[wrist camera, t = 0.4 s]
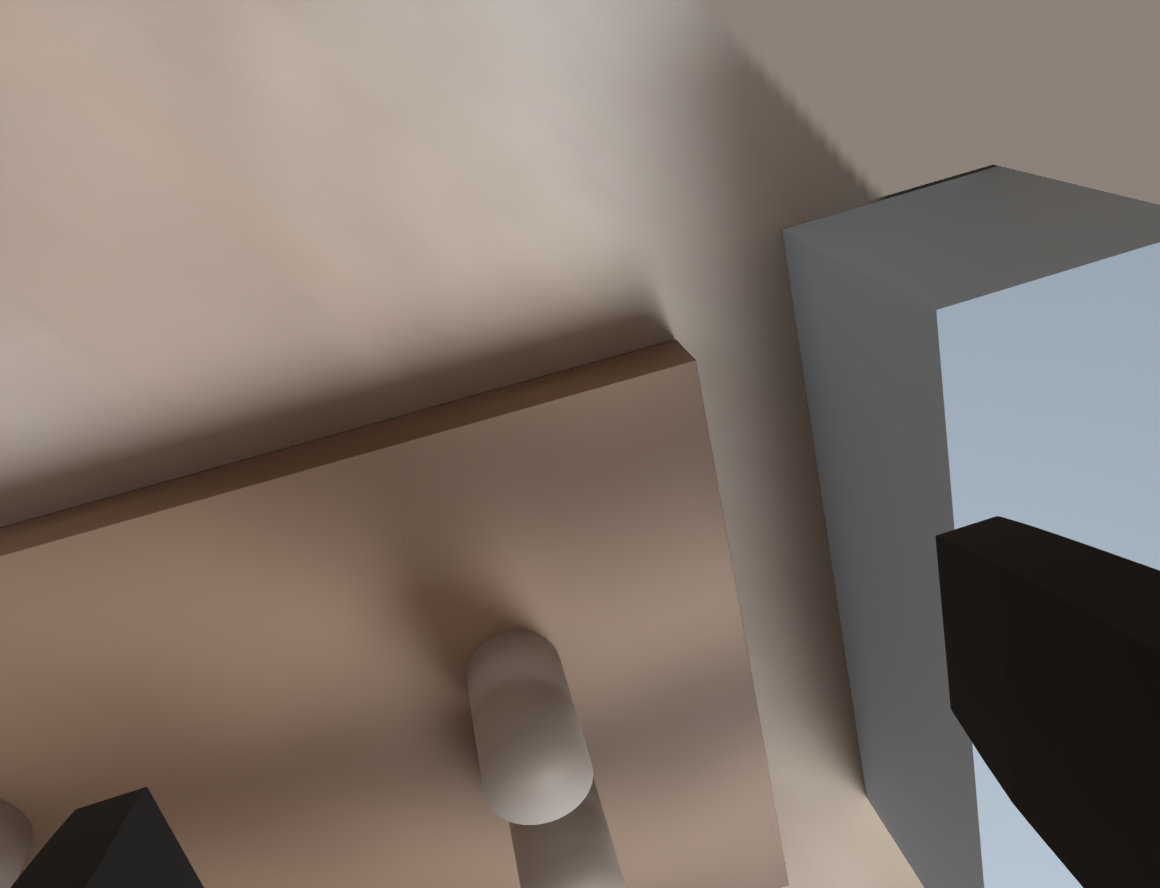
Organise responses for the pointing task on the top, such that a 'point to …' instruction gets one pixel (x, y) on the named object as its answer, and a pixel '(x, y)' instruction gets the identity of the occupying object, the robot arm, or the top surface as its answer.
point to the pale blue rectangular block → (970, 452)
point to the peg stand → (408, 653)
